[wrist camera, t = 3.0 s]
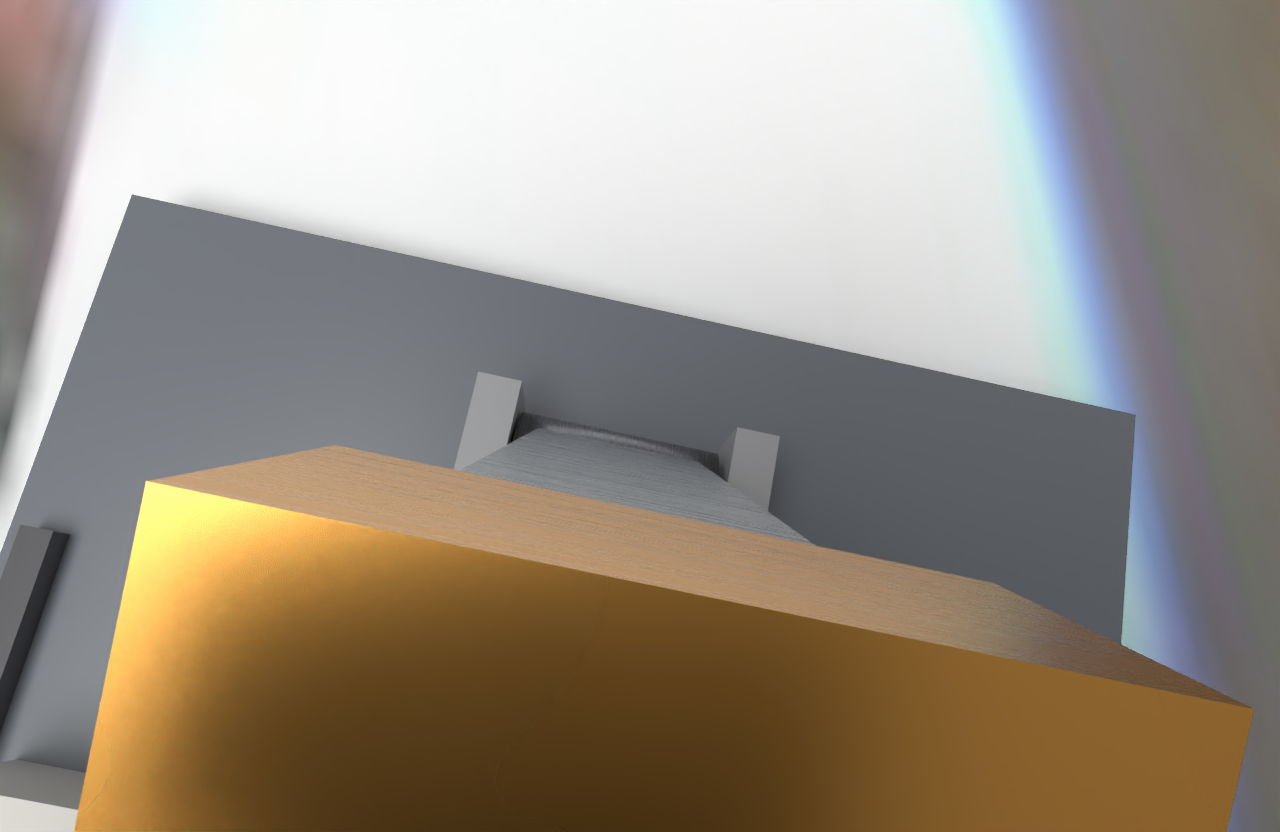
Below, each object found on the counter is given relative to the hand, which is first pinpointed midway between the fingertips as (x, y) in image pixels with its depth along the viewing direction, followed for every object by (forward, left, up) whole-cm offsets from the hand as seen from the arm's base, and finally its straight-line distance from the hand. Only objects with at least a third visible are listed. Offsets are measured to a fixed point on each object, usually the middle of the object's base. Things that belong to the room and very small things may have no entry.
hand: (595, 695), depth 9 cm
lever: (+3, -2, -8) cm, 9 cm away
